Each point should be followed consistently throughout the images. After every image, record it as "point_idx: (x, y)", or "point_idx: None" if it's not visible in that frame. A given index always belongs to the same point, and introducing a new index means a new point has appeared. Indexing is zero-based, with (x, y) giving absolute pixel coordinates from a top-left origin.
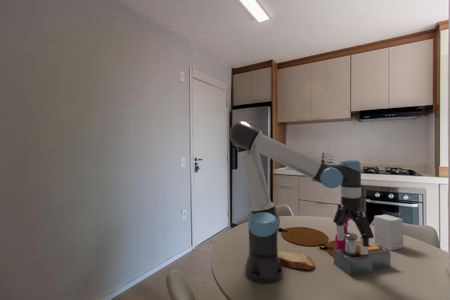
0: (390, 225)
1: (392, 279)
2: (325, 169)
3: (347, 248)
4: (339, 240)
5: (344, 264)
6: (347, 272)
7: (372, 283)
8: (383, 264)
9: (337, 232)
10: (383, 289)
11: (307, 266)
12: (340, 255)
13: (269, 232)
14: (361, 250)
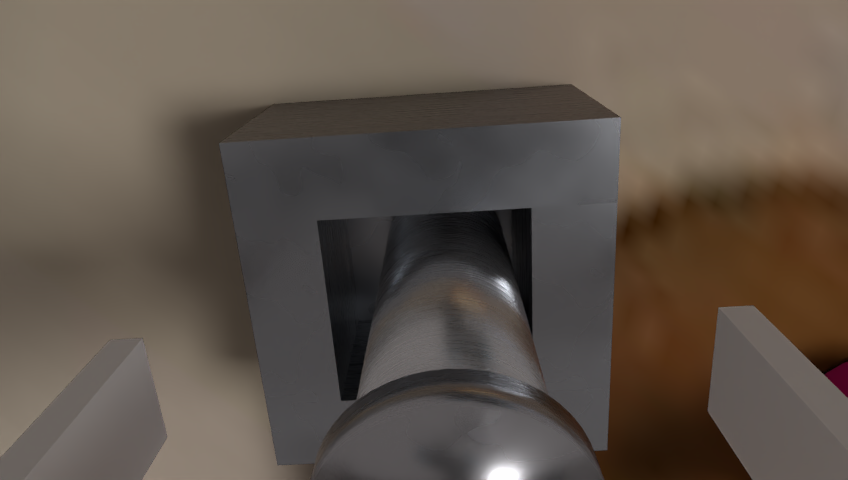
0: None
1: (200, 452)
2: None
3: (429, 284)
4: (718, 325)
5: (358, 114)
6: (314, 104)
7: (132, 241)
8: None
9: (846, 398)
10: (37, 269)
11: None
12: (439, 126)
13: None
14: (88, 374)
